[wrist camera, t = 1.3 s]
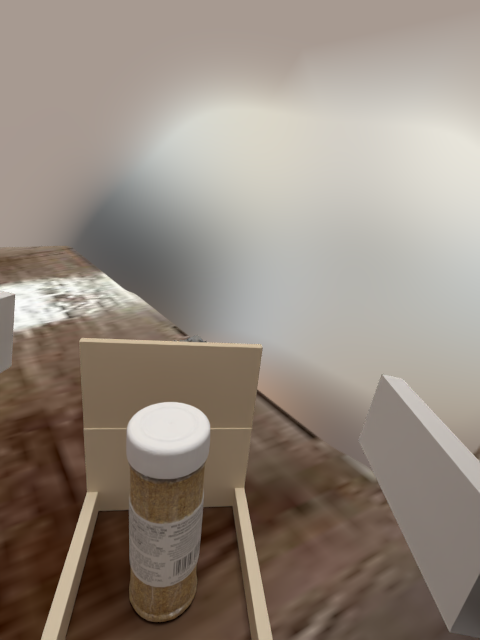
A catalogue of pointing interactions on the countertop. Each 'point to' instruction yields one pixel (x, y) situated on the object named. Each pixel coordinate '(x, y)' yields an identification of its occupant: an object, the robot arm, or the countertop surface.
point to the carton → (110, 443)
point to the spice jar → (165, 506)
